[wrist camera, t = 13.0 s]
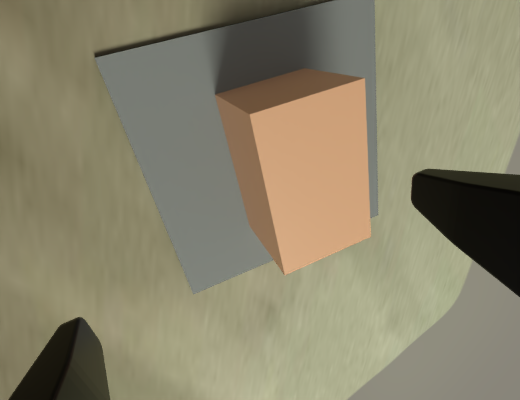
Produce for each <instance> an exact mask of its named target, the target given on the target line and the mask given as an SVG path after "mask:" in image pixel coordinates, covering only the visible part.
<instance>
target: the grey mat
mask: <svg viewBox="0 0 520 400" xmlns="http://www.w3.org/2000/svg"><path fill="white" fill-rule="evenodd" d="M95 60H96V63H97V65H98V67H99V70H100V72H101V75H102V77H103V79H104V82H105V84H106V87H107V89H108V91H109V94H110V96H111V99H112V101H113V103H114V106H115V108H116V110H117V113H118V115H119V118H120V120H121V122H122V125H123V127H124V130H125V132H126V134H127V137H128V139H129V141H130V144H131V146H132V149H133V151H134V153H135V156H136V158H137V161H138V163H139V165H140V168H141V170H142V173H143V175H144V177H145V180H146V182H147V184H148V187H149V189H150V192H151V194H152V196H153V199H154V201H155V204H156V206H157V208H158V211H159V213H160V215H161V218H162V220H163V223H164V225H165V227H166V230H167V232H168V235H169V237H170V239H171V242H172V244H173V247H174V249H175V251H176V254H177V256H178V258H179V261H180V263H181V266H182V268H183V270H184V273H185V275H186V278H187V280H188V282H189V285H190V287H191V290H192V292H193V294H195V293H198V292H200V291H202V290H205V289H207V288H209V287H212V286H214V285H216V284H219V283H221V282H223V281H226V280H228V279H230V278H233V277H235V276H237V275H240V274H242V273H244V272H247V271H249V270H251V269H254V268H256V267H258V266H261V265H263V264H265V263H268V262H270V261H272V260H274V259H273V258H272V257H271V255H270V254H269V252H268V251H267V250H266V248H265V247H264V245H263V244H262V243H261V241H260V240H259V238H258V237H257V236H256V234H255V233H254V231H253V230H252V229H251V227H250V226H249V222H248V218H247V214H246V211H245V207H244V203H243V199H242V195H241V192H240V188H239V184H238V180H237V177H236V173H235V169H234V165H233V162H232V158H231V154H230V150H229V146H228V143H227V139H226V135H225V131H224V128H223V124H222V120H221V116H220V113H219V109H218V105H217V101H216V97H215V94H218V93H222V92H225V91H229V90H232V89H235V88H239V87H242V86H246V85H249V84H252V83H256V82H259V81H263V80H266V79H270V78H273V77H276V76H280V75H283V74H287V73H290V72H293V71H297V70H300V69H304V68H306V69H312V70H319V71H325V72H331V73H337V74H343V75H349V76H355V77H362V78H365V92H366V119H367V146H368V173H369V200H370V218H372V217H375V216H377V215H378V176H377V119H376V62H375V5H374V0H334V1H329V2H325V3H321V4H317V5H313V6H309V7H304V8H300V9H296V10H292V11H288V12H283V13H279V14H275V15H271V16H267V17H263V18H258V19H254V20H250V21H246V22H242V23H238V24H233V25H229V26H225V27H221V28H217V29H213V30H208V31H204V32H200V33H196V34H192V35H188V36H183V37H179V38H175V39H171V40H167V41H163V42H158V43H154V44H150V45H146V46H142V47H137V48H133V49H129V50H125V51H121V52H117V53H112V54H108V55H104V56H100V57H96V58H95Z"/></svg>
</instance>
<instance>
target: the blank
mask: <svg viewBox="0 0 520 400" xmlns="http://www.w3.org/2000/svg"><path fill="white" fill-rule="evenodd" d="M215 97H216V101H217V105H218V109H219V113H220V116H221V120H222V124H223V128H224V131H225V135H226V139H227V143H228V146H229V150H230V154H231V158H232V162H233V165H234V169H235V173H236V177H237V180H238V184H239V188H240V192H241V195H242V199H243V203H244V207H245V211H246V214H247V218H248V222H249V226H250V227H251V229H252V230H253V231H254V233H255V234H256V236H257V237H258V238H259V240H260V241H261V243H262V244H263V245H264V247H265V248H266V250H267V251H268V252H269V254H270V255H271V257H272V258H273V259H274V261H275V262H276V264H277V265H278V266H279V268H280V269H281V271H282V272H283V273H284V275H287V274H289V273H291V272H293V271H295V270H298V269H300V268H302V267H304V266H307V265H309V264H311V263H313V262H315V261H318V260H320V259H322V258H324V257H327V256H329V255H331V254H333V253H336V252H338V251H340V250H342V249H344V248H347V247H349V246H351V245H353V244H356V243H358V242H360V241H362V240H364V239H367V238H369V237H371V227H370V200H369V173H368V146H367V119H366V92H365V78H362V77H355V76H349V75H343V74H337V73H331V72H325V71H319V70H312V69H306V68H304V69H300V70H297V71H293V72H290V73H287V74H283V75H280V76H276V77H273V78H270V79H266V80H263V81H259V82H256V83H252V84H249V85H246V86H242V87H239V88H235V89H232V90H229V91H225V92H222V93H218V94H215Z"/></svg>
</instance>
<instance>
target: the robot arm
mask: <svg viewBox="0 0 520 400" xmlns="http://www.w3.org/2000/svg"><path fill="white" fill-rule="evenodd" d="M411 201H412V204H413V205H414V207H415V208H416V209H417V210H418V211H419V212H420V213H421V214H422V215H423V216H424V217H425V218H427V219H428V220H429V221H430V222H431V223H432V224H433V225H434V226H435V227H436V228H437V229H438V230H439V231H440V232H441V233H442V234H443V235H444V236H445V237H446V238H447V239H448V240H450V241H451V242H452V243H453V244H454V245H455V246H456V247H458V248H459V249H460V250H461V251H463V252H464V253H465V254H466V255H468V256H469V257H470V258H471V259H473V260H474V261H475V262H476V263H478V264H479V265H480V266H481V267H483V268H484V269H485V270H486V271H488V272H489V273H490V274H491V275H493V276H494V277H495V278H497V279H498V280H499V281H500V282H501V283H503V284H504V285H505V286H506V287H508V288H509V289H510V290H511V291H513V292H514V293H515V294H516V295H518V296H519V297H520V175H513V174H498V173H484V172H469V171H454V170H440V169H425V170H422V171H420V172H417V173H415V174H414V175H413V177H412V188H411ZM9 400H110V395H109V389H108V382H107V376H106V369H105V363H104V356H103V350H102V346H101V343H100V341H99V339H98V338H97V336H96V335H95V333H94V332H93V331H92V329H91V328H90V326H89V325H88V323H87V322H86V321H85V320H84V319H83V318H81V317H77V318H75V319H73V320H70V321H68V322H66V323H63V324H62V325H60V326H59V327H58V329H57V330H56V332H55V333H54V335H53V336H52V337H51V339H50V340H49V342H48V343H47V345H46V346H45V348H44V349H43V350H42V352H41V353H40V355H39V356H38V358H37V359H36V361H35V362H34V363H33V365H32V366H31V368H30V369H29V371H28V372H27V374H26V375H25V376H24V378H23V379H22V381H21V382H20V384H19V385H18V387H17V388H16V389H15V391H14V392H13V394H12V395H11V397H10V398H9Z"/></svg>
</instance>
